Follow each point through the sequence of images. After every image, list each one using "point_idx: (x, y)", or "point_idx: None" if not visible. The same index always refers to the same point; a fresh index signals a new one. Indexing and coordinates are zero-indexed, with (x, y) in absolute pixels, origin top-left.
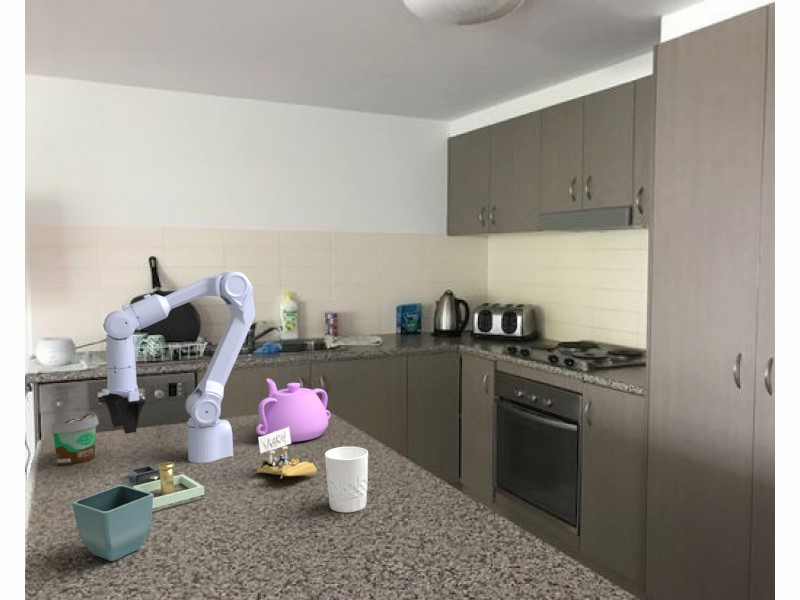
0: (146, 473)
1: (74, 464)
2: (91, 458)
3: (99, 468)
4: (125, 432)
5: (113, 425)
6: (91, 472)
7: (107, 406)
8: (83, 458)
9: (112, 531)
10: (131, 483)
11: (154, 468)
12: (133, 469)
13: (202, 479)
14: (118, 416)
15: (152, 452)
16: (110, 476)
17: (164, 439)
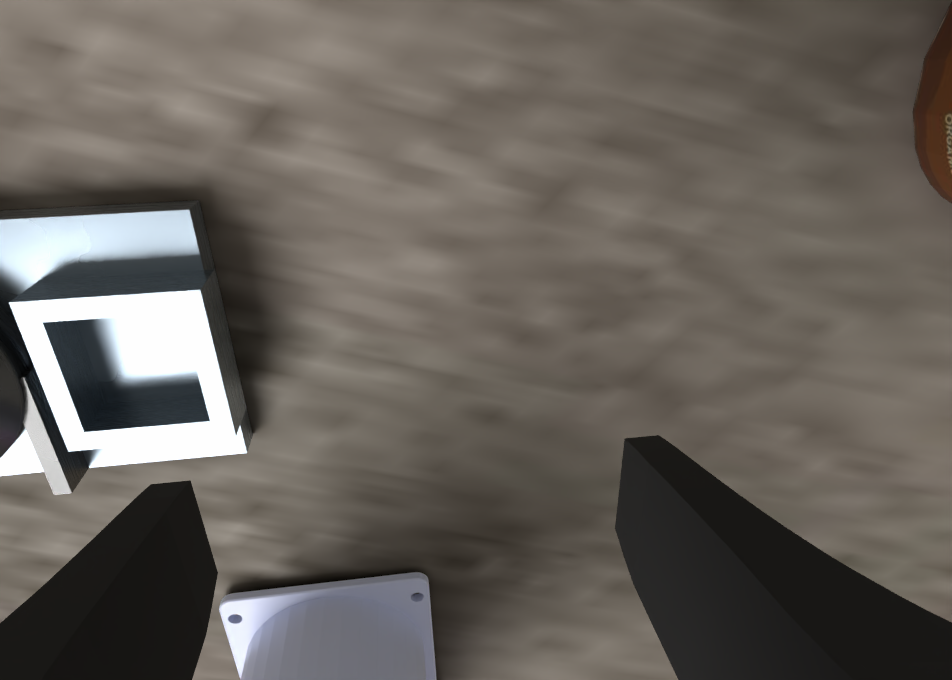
0: (41, 373)
1: (934, 38)
2: (931, 176)
3: (687, 169)
4: (158, 490)
5: (657, 442)
6: (641, 96)
7: (901, 625)
8: (938, 114)
9: None
10: (32, 247)
11: (128, 439)
12: (189, 322)
13: (20, 582)
14: (676, 581)
15: None
16: (440, 185)
17: (894, 580)
